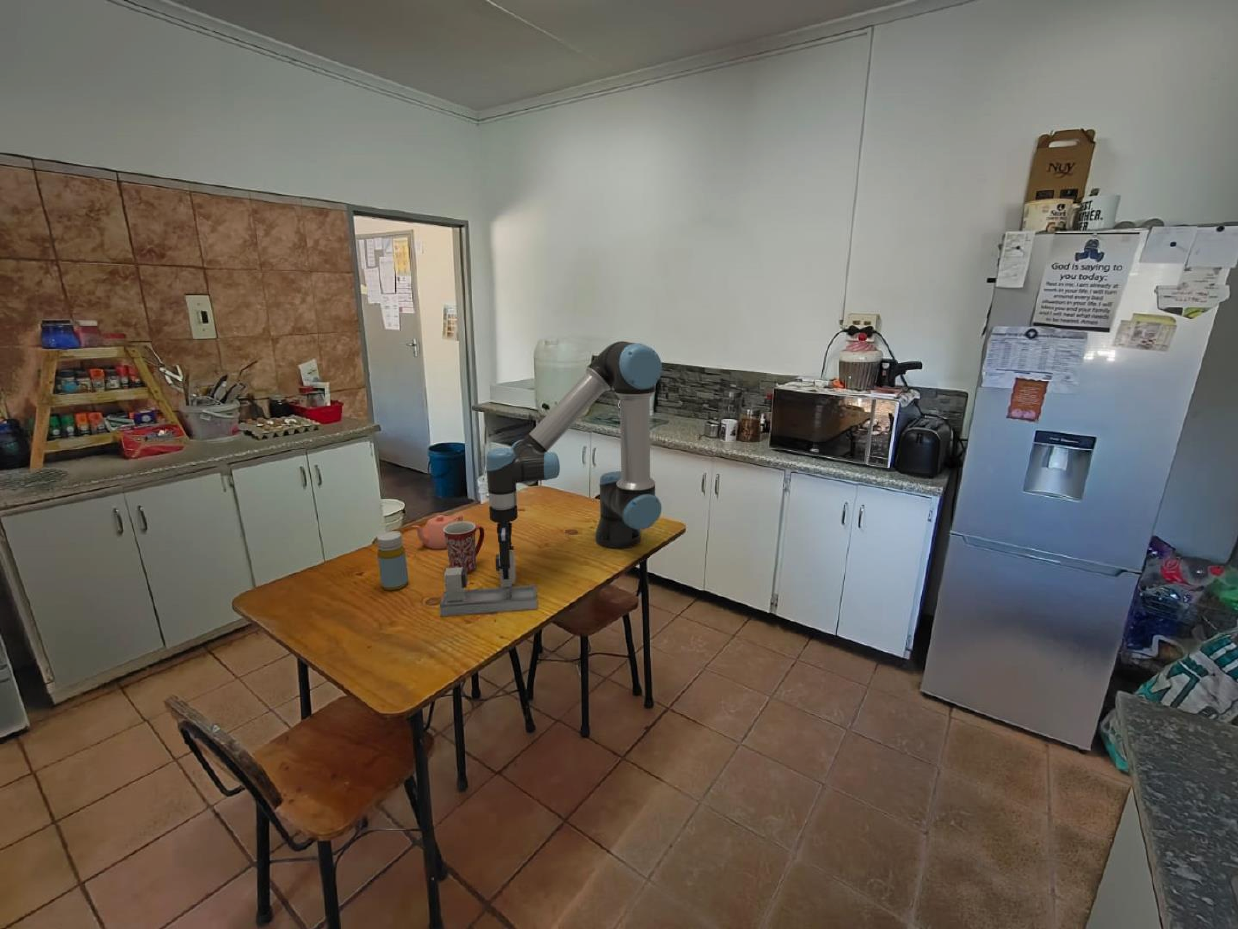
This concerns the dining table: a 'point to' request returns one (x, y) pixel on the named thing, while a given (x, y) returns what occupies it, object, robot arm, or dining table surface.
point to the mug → (463, 544)
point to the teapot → (436, 531)
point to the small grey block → (512, 564)
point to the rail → (482, 596)
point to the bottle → (392, 561)
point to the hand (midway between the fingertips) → (507, 579)
